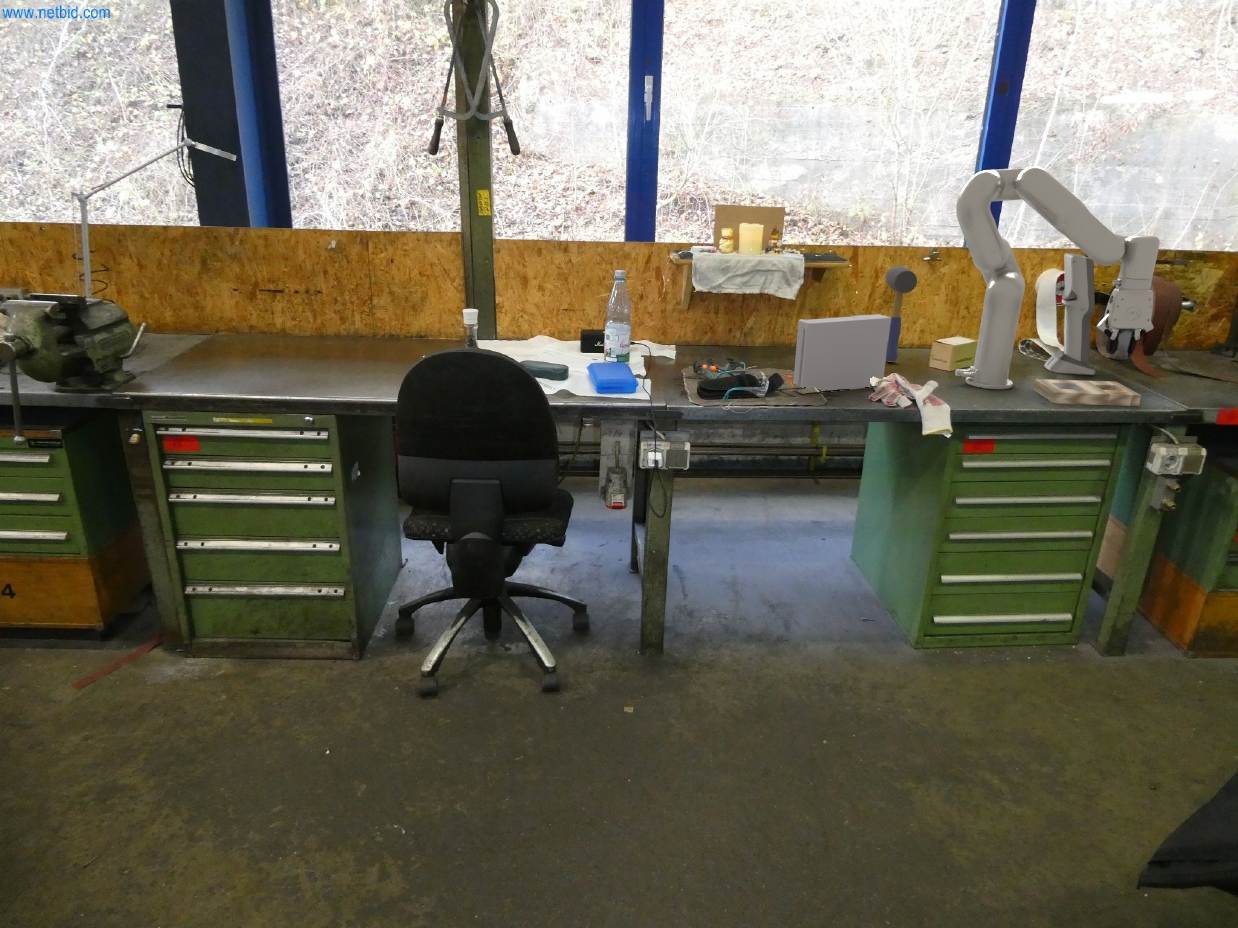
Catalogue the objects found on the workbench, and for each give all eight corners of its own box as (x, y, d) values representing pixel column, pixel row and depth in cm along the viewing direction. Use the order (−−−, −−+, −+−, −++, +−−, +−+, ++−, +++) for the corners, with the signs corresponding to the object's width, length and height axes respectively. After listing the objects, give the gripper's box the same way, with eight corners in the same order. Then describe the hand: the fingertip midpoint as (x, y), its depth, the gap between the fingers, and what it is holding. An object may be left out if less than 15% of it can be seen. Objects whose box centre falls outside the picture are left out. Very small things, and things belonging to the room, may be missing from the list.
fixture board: (1052, 403, 217) (1054, 392, 216) (1033, 389, 230) (1035, 378, 229) (1138, 406, 215) (1141, 395, 214) (1113, 392, 228) (1116, 381, 227)
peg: (1114, 359, 216) (1121, 326, 213) (1107, 356, 220) (1114, 323, 217) (1129, 359, 216) (1137, 326, 212) (1122, 356, 219) (1129, 323, 216)
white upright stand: (1040, 364, 258) (1062, 252, 246) (1084, 366, 256) (1108, 253, 243) (1050, 373, 248) (1074, 256, 235) (1096, 375, 245) (1122, 258, 232)
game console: (789, 389, 228) (795, 319, 220) (869, 381, 237) (878, 314, 230) (800, 395, 222) (807, 323, 215) (882, 386, 232) (891, 317, 224)
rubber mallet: (873, 357, 265) (885, 264, 254) (897, 358, 265) (909, 264, 254) (883, 366, 254) (895, 269, 243) (907, 367, 253) (920, 270, 242)
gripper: (1106, 286, 208) (1092, 356, 215) (1175, 286, 207) (1159, 357, 213) (1093, 282, 215) (1080, 350, 222) (1160, 282, 214) (1145, 351, 220)
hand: (1119, 352), depth 217 cm, fingers closed on peg, 4 cm apart
